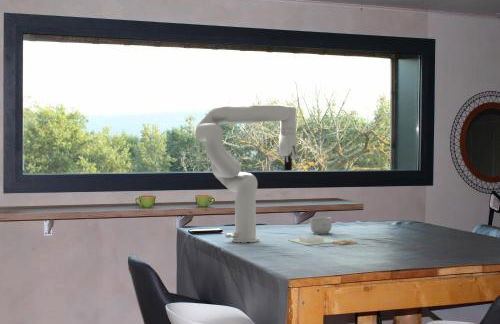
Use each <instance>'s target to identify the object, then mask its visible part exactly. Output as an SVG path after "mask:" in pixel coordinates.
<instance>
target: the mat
mask: <svg viewBox="0 0 500 324" xmlns="http://www.w3.org/2000/svg"><path fill="white" fill-rule="evenodd" d="M287 241H289V242H292V243H297V244H301V245H305V246H310V245H311V246H312V245H322V244H323V245H324V244H333V241H337V240H335V239H331V238H327V237H324V242H312V243H305V242H301V241H299V238H293V239H288V240H287Z"/></svg>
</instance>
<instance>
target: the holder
mask: <svg viewBox="0 0 500 324" xmlns="http://www.w3.org/2000/svg"><path fill="white" fill-rule="evenodd" d="M332 244H335V245H337V246H341V245H353V244H358V240H353V239H347V240H346V239H343V240H336V241H333V243H332Z"/></svg>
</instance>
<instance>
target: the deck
mask: <svg viewBox="0 0 500 324" xmlns="http://www.w3.org/2000/svg"><path fill="white" fill-rule="evenodd" d="M324 238H325V236H320V235H317V234H314V235H305V236H304V235H303V236H299V237H298V239H299V241H301V242H305V243H312V242H324Z"/></svg>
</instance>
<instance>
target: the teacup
mask: <svg viewBox="0 0 500 324" xmlns="http://www.w3.org/2000/svg"><path fill="white" fill-rule="evenodd" d="M309 225H310V230H311V232H313V233H314V235H326V234H328V233H329V232H330V231H332V226H333V225H332V217H331V216H317V217H311V218H309Z"/></svg>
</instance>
